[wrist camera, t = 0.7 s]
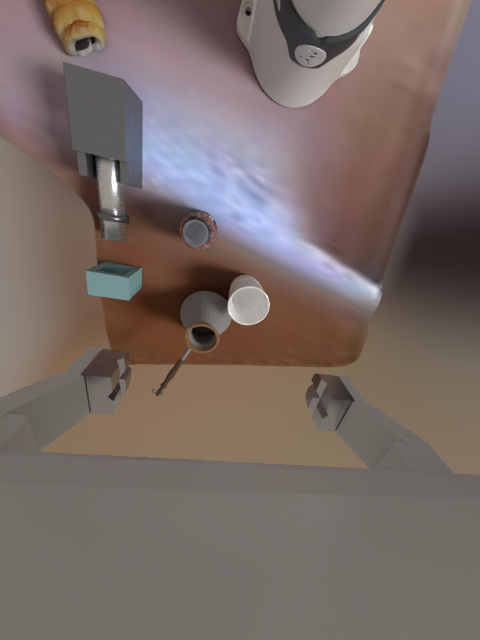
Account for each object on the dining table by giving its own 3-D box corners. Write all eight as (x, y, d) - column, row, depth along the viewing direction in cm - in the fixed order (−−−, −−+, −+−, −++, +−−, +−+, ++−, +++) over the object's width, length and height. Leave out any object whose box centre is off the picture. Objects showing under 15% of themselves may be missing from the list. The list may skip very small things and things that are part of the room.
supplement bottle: (211, 247, 46) (207, 259, 36) (182, 236, 45) (170, 245, 35) (221, 218, 44) (220, 222, 34) (191, 205, 42) (181, 205, 32)
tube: (97, 104, 34) (77, 88, 30) (132, 113, 35) (118, 99, 30) (105, 234, 43) (90, 237, 38) (134, 239, 43) (123, 243, 39)
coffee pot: (201, 276, 49) (192, 303, 36) (241, 306, 53) (246, 340, 39) (150, 341, 56) (127, 384, 42) (189, 364, 59) (179, 410, 46)
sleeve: (93, 89, 34) (62, 61, 28) (142, 102, 35) (123, 79, 29) (99, 178, 40) (75, 173, 33) (142, 188, 41) (126, 185, 34)
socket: (105, 261, 46) (85, 270, 40) (141, 267, 47) (128, 277, 41) (106, 282, 48) (88, 294, 42) (141, 287, 49) (128, 300, 43)
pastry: (30, -35, 29) (4, -66, 26) (77, -55, 29) (57, -90, 25) (74, 64, 33) (57, 48, 30) (116, 48, 33) (103, 29, 29)
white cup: (258, 306, 53) (264, 327, 44) (225, 302, 52) (225, 322, 43) (265, 274, 49) (273, 289, 41) (229, 269, 49) (230, 283, 40)
